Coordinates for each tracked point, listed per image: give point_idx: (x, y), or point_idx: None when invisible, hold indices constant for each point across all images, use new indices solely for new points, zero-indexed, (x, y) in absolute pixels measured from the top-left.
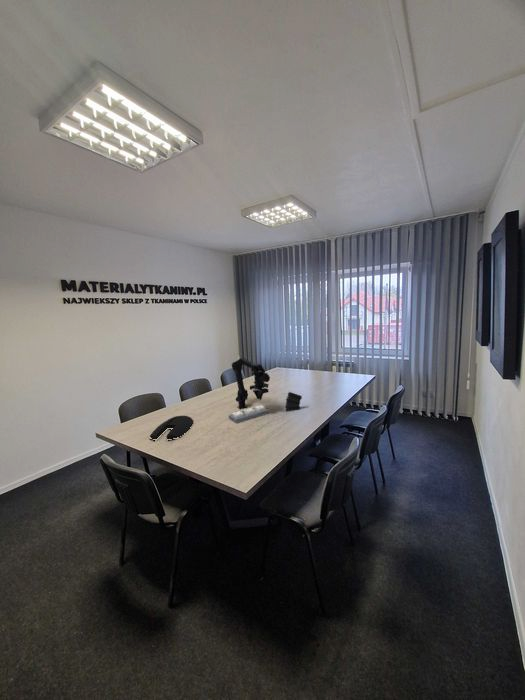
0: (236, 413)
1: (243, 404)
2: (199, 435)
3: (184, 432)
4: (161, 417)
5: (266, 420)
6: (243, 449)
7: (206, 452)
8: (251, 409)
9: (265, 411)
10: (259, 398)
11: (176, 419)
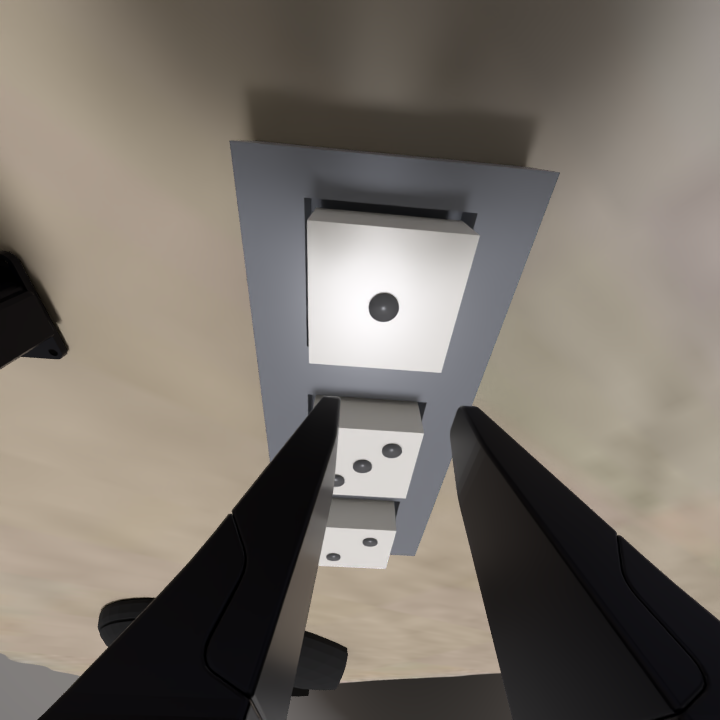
0: (347, 556)
1: (2, 350)
2: (382, 624)
3: (320, 648)
4: (41, 633)
5: (619, 370)
6: None
7: None
8: (370, 444)
9: (515, 273)
10: (471, 502)
11: None
